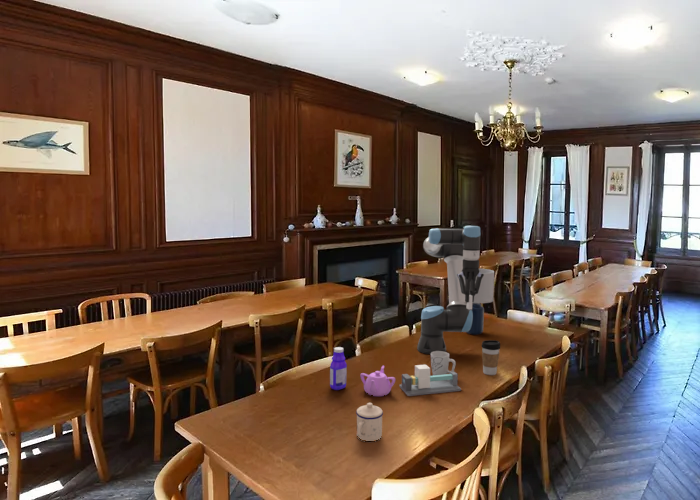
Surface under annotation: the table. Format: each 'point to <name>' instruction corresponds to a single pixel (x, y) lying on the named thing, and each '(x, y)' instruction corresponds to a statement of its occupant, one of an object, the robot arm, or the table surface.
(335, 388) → the bottle
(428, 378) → the white slider block
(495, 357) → the coffee cup
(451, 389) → the slider rail
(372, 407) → the teacup with lid
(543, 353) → the table surface
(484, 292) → the lamp
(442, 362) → the mug
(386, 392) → the teapot
